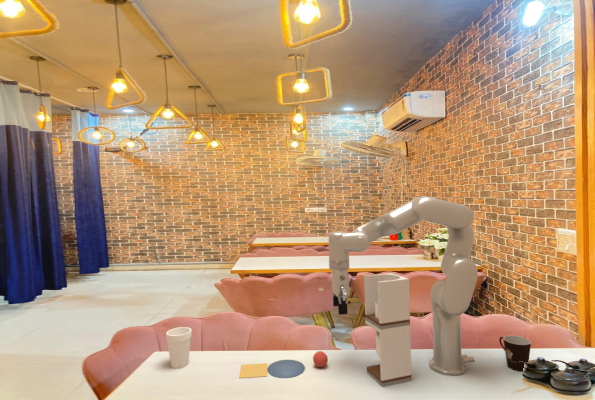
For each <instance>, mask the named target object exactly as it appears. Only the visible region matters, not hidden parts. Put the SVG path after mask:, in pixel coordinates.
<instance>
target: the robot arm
mask: <svg viewBox="0 0 595 400" xmlns="http://www.w3.org/2000/svg"><path fill="white" fill-rule="evenodd" d="M474 219H475V214H474V212H473V210H472V209H471V208H470V207H469V206H467V205H466V204H462V203H457V202H453V201H448V200H444V199H440V198H438V197H433V196H430V195H429V196H426V195H422V196H421V195H420V196H417V197H414V198H413V199H411V200H409V201H407V202H405V203H403V204H401V205H399V206H397V207H396V208H394V209H392V210H390V211H388V212H386V213H385V214H382V215H380V216H378V217H376V218H374V219H372V220H370V221H369V222H366V223H365V224H362V225H361V226H359V227H357V228H355V229H353V230H352V231H351V232H348V231H347V232H346V231H337V230H336V231H330V233H329V234H328V265H329V266H328V268H329V270H331V288H332V292H333V293H332V301H333V302H332V305H333V307H338V311H337V312H338V315H339V316H340V315H341V316H342V315H348V298H349V297H350V296H351V294H350V293H351V292H350V281H349V280H350V278H349V271H348V270H349V269H350V252H356V253H363V252H366V251H367V250H368V249H369V248H370V246H371V243H373V242H375V241H376V240H379V239H381V238H385V237H386V236H394V235H397V234H400V233H402V232H404V231H405V230H407V229H410V228H411V227H413V226H415V225H417V224H419V223H421V222H422V221H427V222H429V223H433V224H437V225H441V226H445V227H446V229H447V232H448V238H447V243H446V247H445V250H444V253H443V256H442V259H441V260H442V261H441V263H440V270H441V272H442V273H443V274H444V275H445V276H446V279H445V280H444V279H443V280H442V279H441V280H438V281H436V282H435V283H433V284H432V286H431V288H430V295H429V297H430V303H431V311H432V347H433V349H432V351H433V353H432V355H433V357H432V358H430V359H429V361H428V365H429V367H430V369H432V370H433V371H435V372H437V373H440V374H443V375H449V376H459V375H463V374H465V373H466V372H467V363H475V362H476V361H475V357H474V356H468V355H467V354H462V330H461V329H462V328H461V327H462V324H461V323H462V322H461V321H462V320H461V315H462V314H464V313H465V312H466V311H467V310H468V308H469V306H470V305H471V304H470V303H471V302H472V298H473V294H474V291H475V289H476V288H475V287H476V283H477V281H478V276H479V272H478V267H477V264H476V263H475V262H474V261H473V260H472V259H471V257H472V256H471V255H472V251H473V246H474V242H475V233H474V227H473V226H472V224H473V222H474ZM347 297H348V298H347Z"/></svg>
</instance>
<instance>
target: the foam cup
mask: <svg viewBox="0 0 595 400" xmlns="http://www.w3.org/2000/svg"><path fill="white" fill-rule="evenodd" d="M192 331H193V330H192V328H190V327H187V326H182V327H181V326H179V327H174V328H170V329H168V330H167V331H166V333H165V338H166V342H167V347H168V348H167V349H168V353H169V354H168V355H169V360H170V365H171V366H172V367H173V368H172V369H182V368H185V367H187V366H188V365H189V361H190V360H189V359H190V352H191V350H190V349H191V341H192V340H191V339H192V337H193V336H192V335H193V334H192Z"/></svg>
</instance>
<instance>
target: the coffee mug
mask: <svg viewBox="0 0 595 400" xmlns="http://www.w3.org/2000/svg"><path fill="white" fill-rule="evenodd" d="M502 339H503V343H502ZM498 341H499V344H500V346H501V347H502V349H503V351H504V353H505V359H506V366H507V367H508V368H509V369H510V370H513V371H515V372H523V368H524V363H523V362H528V361H530V356H531V355H530V354H531V345H532V342H531V341H532V340H530V339H528V338H526V337H524V336H519V335H505V336H500V337H499V340H498ZM519 361H523V362H519ZM523 373H524V372H523Z"/></svg>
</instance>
